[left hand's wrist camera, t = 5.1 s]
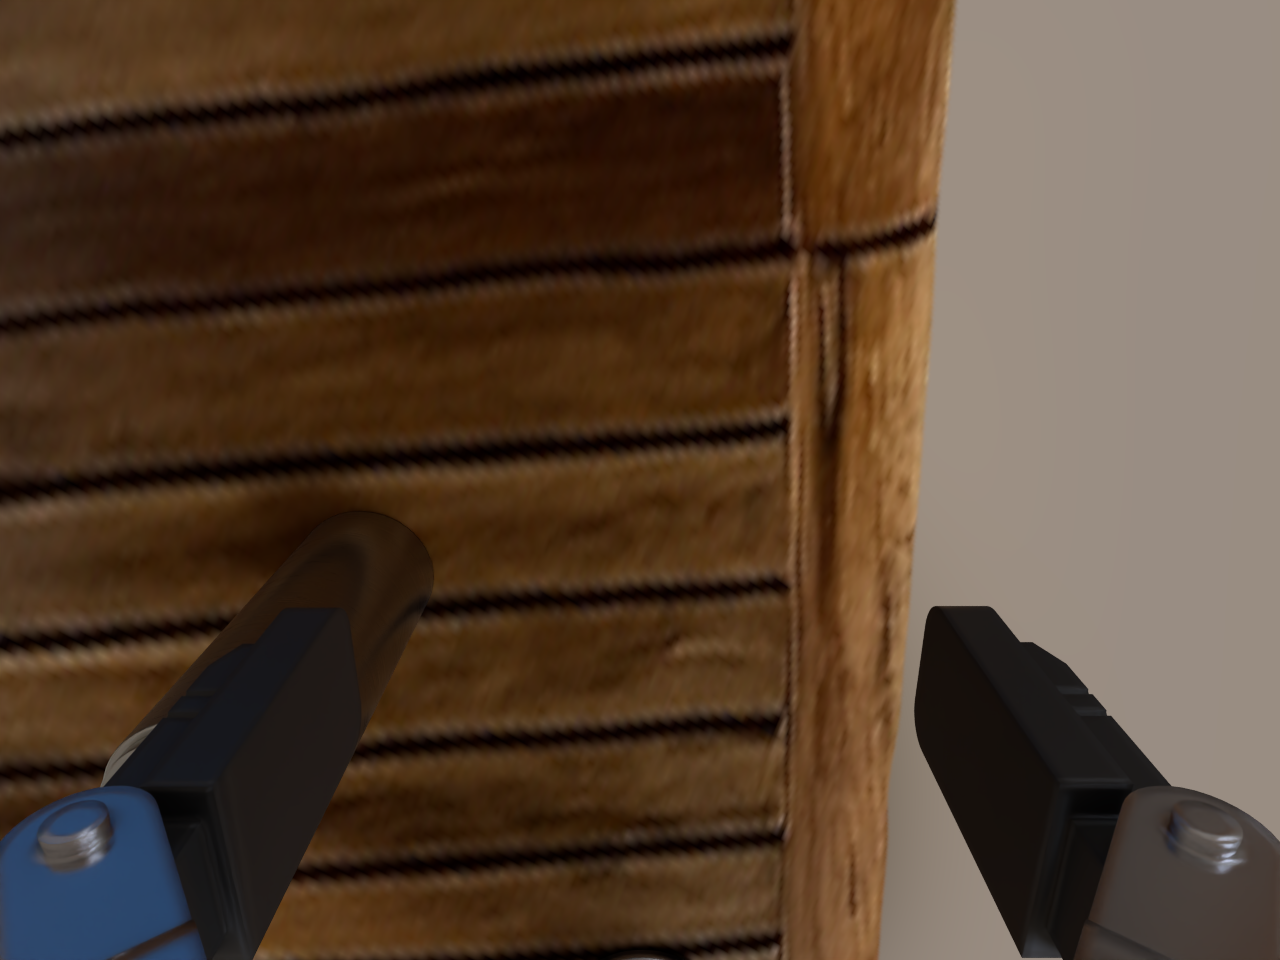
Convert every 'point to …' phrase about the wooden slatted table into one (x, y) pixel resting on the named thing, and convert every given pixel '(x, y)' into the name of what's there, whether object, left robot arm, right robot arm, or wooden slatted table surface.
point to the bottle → (329, 606)
